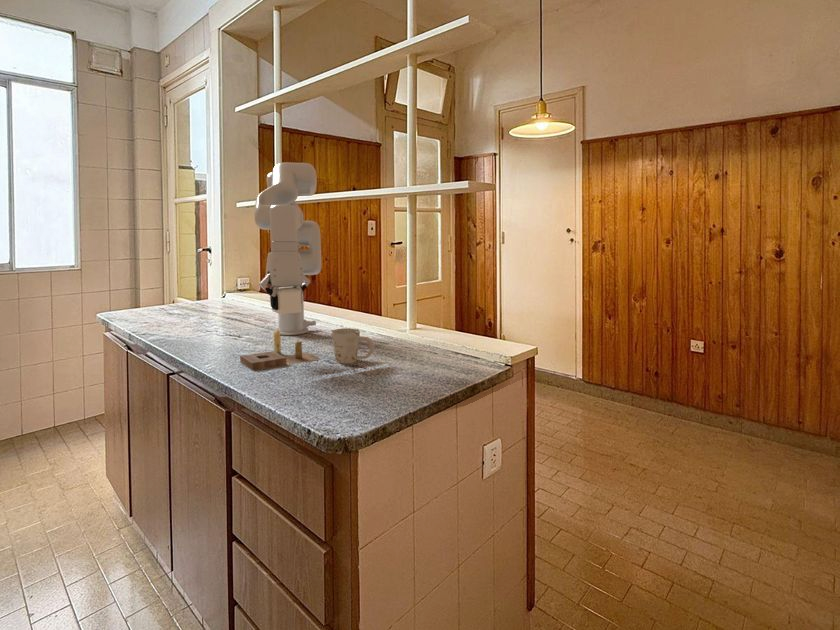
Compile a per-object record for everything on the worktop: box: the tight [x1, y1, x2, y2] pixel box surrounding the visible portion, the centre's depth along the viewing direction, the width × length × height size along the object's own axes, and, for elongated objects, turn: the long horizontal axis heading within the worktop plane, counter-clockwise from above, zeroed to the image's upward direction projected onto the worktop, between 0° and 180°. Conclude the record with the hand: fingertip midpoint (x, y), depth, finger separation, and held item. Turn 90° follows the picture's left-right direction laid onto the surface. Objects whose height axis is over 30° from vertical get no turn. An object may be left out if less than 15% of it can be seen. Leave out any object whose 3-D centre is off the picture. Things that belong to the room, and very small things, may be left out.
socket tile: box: [239, 350, 288, 371], centre depth 150 cm, size 10×10×3 cm
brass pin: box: [273, 330, 282, 355], centre depth 162 cm, size 2×2×8 cm
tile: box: [283, 340, 321, 365], centre depth 156 cm, size 10×10×6 cm
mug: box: [330, 328, 375, 364], centre depth 154 cm, size 8×13×10 cm, turn 95°
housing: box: [271, 287, 301, 314], centre depth 154 cm, size 6×6×7 cm
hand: (286, 307), depth 154 cm, fingers closed on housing, 6 cm apart
